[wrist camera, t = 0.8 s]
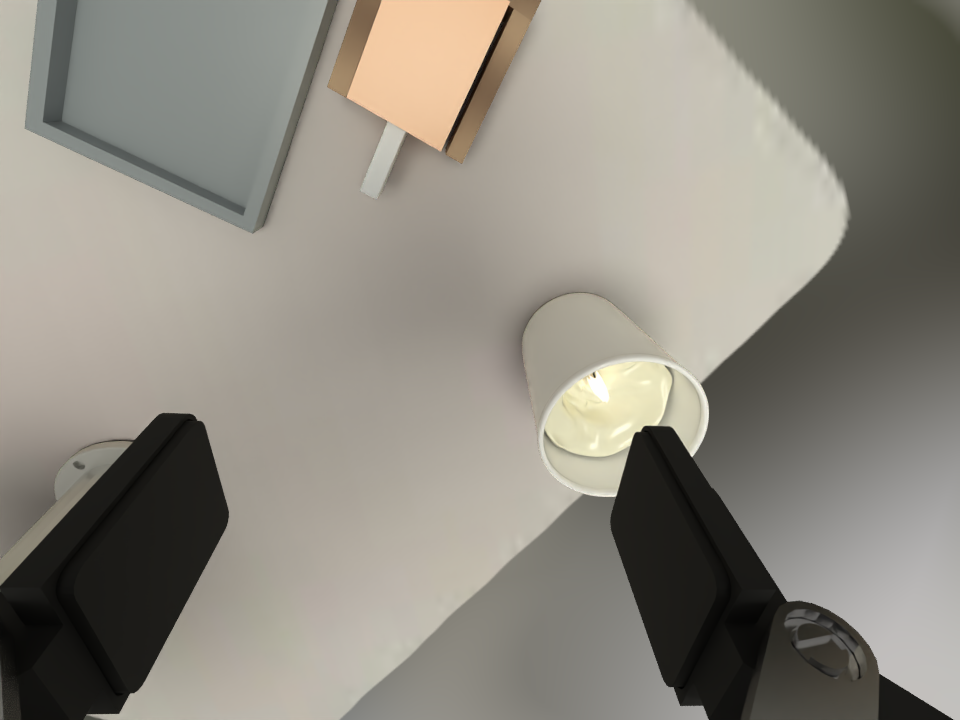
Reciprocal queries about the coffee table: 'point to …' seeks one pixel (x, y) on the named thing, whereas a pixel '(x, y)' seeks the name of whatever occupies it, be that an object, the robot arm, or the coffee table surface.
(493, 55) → the frame
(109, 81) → the tray
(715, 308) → the coffee table surface
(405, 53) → the peach slab with tab
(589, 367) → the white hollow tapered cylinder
